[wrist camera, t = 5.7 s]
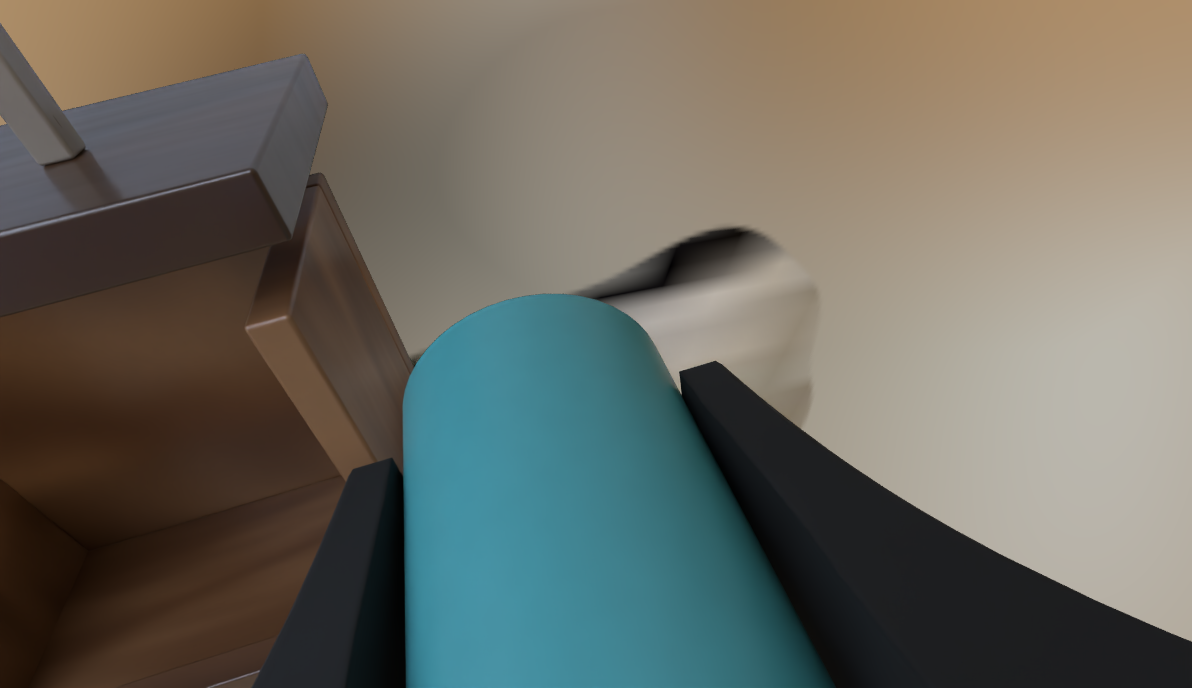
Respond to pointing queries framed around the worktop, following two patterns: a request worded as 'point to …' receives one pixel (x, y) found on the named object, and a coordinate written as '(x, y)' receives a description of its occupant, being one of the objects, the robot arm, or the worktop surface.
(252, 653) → the cabinet
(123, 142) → the drawer
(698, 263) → the worktop surface
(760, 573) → the scoop
